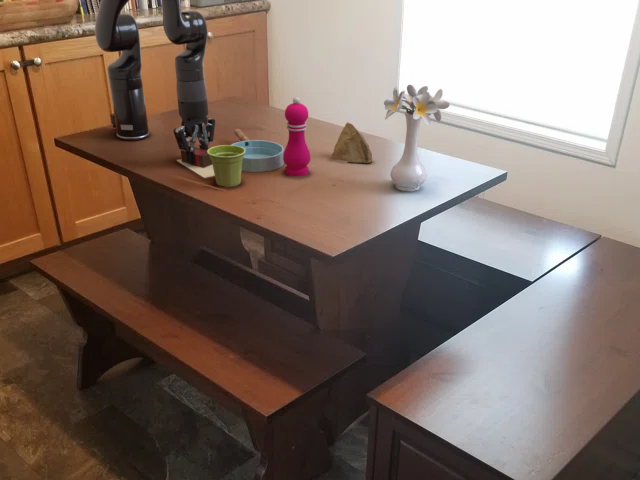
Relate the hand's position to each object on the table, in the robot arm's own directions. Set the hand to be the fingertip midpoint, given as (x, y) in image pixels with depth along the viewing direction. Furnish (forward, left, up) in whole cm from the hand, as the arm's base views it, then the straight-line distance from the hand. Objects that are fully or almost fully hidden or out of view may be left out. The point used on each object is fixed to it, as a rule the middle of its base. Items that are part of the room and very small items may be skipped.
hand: (198, 161), depth 186 cm
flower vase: (+43, +38, -1) cm, 57 cm away
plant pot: (+17, 0, -1) cm, 17 cm away
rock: (+20, +38, -1) cm, 43 cm away
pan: (+8, +14, -1) cm, 16 cm away
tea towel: (+3, +1, -1) cm, 3 cm away
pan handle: (-5, +17, +1) cm, 18 cm away
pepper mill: (+20, +19, -1) cm, 28 cm away
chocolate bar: (0, 0, 0) cm, 0 cm away
